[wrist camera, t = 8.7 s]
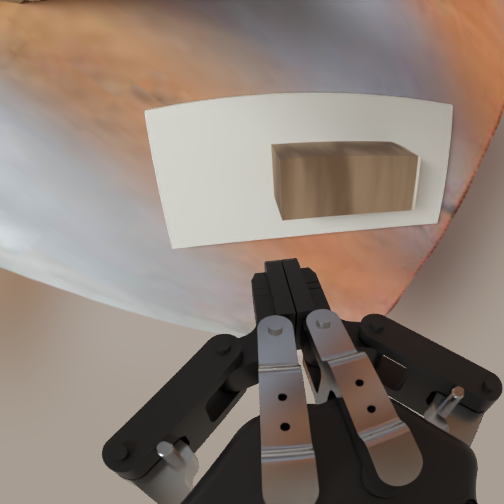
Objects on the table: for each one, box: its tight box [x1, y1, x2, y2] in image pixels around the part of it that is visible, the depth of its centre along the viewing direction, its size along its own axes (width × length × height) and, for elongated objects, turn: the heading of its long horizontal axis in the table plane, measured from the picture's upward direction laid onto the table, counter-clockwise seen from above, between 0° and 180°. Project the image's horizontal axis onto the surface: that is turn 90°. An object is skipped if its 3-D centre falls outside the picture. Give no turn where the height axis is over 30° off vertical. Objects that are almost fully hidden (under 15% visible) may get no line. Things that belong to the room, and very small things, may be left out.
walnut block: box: [271, 141, 421, 221], centre depth 25 cm, size 5×5×12 cm
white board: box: [144, 92, 453, 249], centre depth 27 cm, size 30×14×2 cm, turn 95°
